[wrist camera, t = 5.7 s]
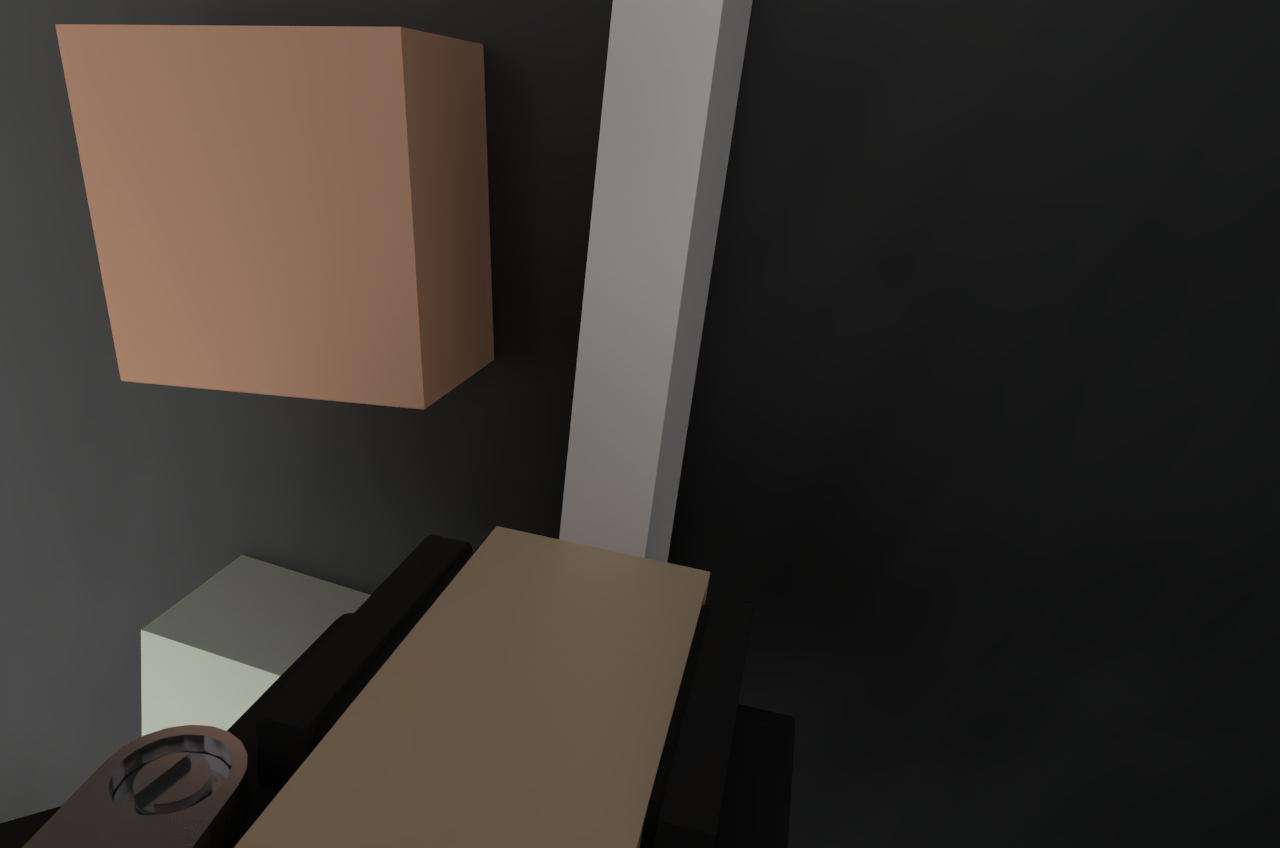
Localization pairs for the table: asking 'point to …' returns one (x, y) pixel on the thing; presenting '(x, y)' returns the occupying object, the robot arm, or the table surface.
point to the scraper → (566, 524)
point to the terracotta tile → (288, 206)
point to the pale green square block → (232, 642)
